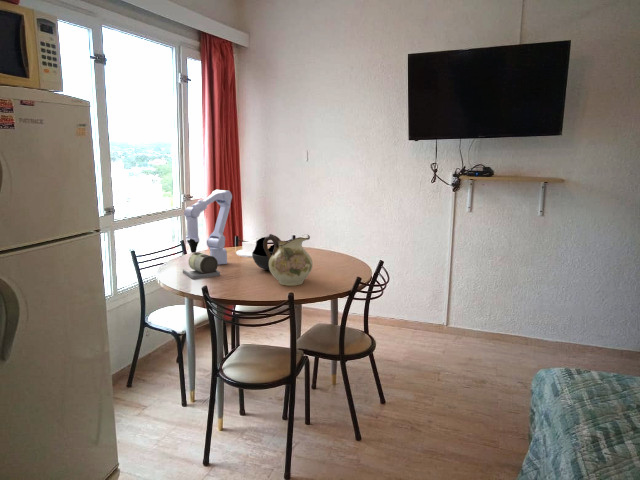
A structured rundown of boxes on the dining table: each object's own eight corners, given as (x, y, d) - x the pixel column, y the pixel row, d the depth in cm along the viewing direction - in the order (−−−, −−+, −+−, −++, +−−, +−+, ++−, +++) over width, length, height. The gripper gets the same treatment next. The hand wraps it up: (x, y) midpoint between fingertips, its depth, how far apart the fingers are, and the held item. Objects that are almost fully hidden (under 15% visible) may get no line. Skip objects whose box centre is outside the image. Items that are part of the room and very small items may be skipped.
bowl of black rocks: (251, 266, 267) (250, 234, 263) (285, 264, 271) (285, 233, 267) (253, 275, 248) (253, 241, 244) (290, 273, 252) (290, 240, 248)
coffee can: (199, 248, 256) (212, 252, 246) (207, 263, 261) (220, 267, 250) (184, 258, 250) (197, 263, 240) (193, 273, 255) (206, 278, 245)
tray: (209, 269, 259) (208, 265, 259) (220, 275, 246) (219, 272, 246) (182, 272, 251) (182, 269, 251) (192, 279, 238) (192, 276, 238)
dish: (279, 250, 311) (279, 234, 309) (266, 258, 287) (266, 241, 285) (245, 248, 316) (244, 232, 314) (230, 256, 292) (229, 239, 290)
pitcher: (317, 286, 227) (317, 237, 223) (270, 290, 220) (270, 239, 216) (306, 275, 248) (306, 230, 244) (263, 278, 242) (262, 232, 237)
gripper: (181, 227, 257) (182, 250, 259) (189, 231, 245) (190, 255, 248) (193, 226, 261) (194, 249, 263) (202, 230, 249) (203, 254, 252)
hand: (193, 252), depth 256 cm, fingers closed
